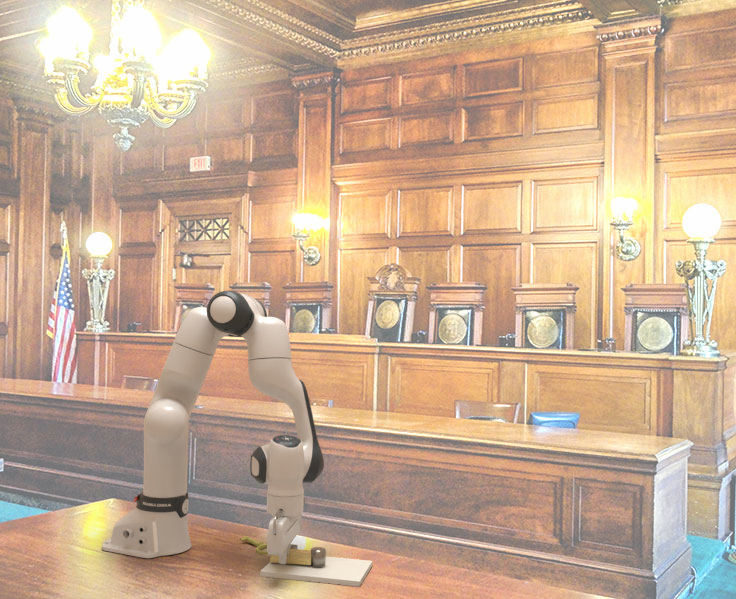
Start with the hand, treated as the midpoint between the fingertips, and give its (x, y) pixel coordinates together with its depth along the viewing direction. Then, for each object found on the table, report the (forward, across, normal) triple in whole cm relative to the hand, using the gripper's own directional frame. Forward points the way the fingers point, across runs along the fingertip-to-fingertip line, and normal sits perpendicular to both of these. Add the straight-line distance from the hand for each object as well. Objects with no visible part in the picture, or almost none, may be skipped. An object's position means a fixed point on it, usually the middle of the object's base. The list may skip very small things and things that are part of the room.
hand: (283, 562), depth 191 cm
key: (+3, +17, +10) cm, 20 cm away
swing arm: (+1, +3, -3) cm, 4 cm away
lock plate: (+2, +3, -8) cm, 9 cm away
